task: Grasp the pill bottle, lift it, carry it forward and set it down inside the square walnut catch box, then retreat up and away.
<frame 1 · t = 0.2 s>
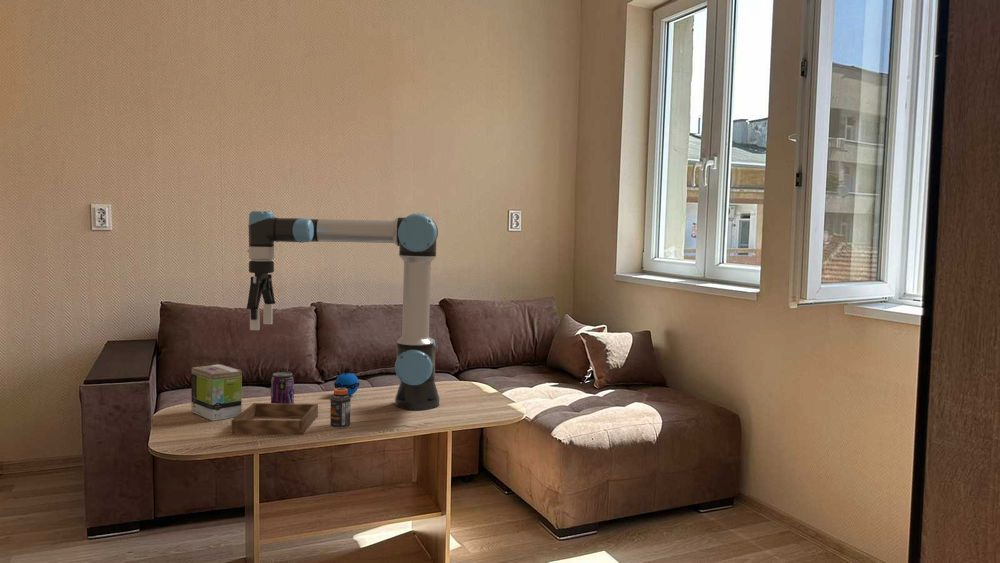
hand: (261, 327, 221), 28 cm above the table, fingers open, 13 cm apart
pill bottle: (340, 426, 211), on the table
ornament: (346, 396, 248), on the table
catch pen: (276, 424, 210), on the table
beverage can: (282, 410, 227), on the table
tea box: (216, 415, 220), on the table
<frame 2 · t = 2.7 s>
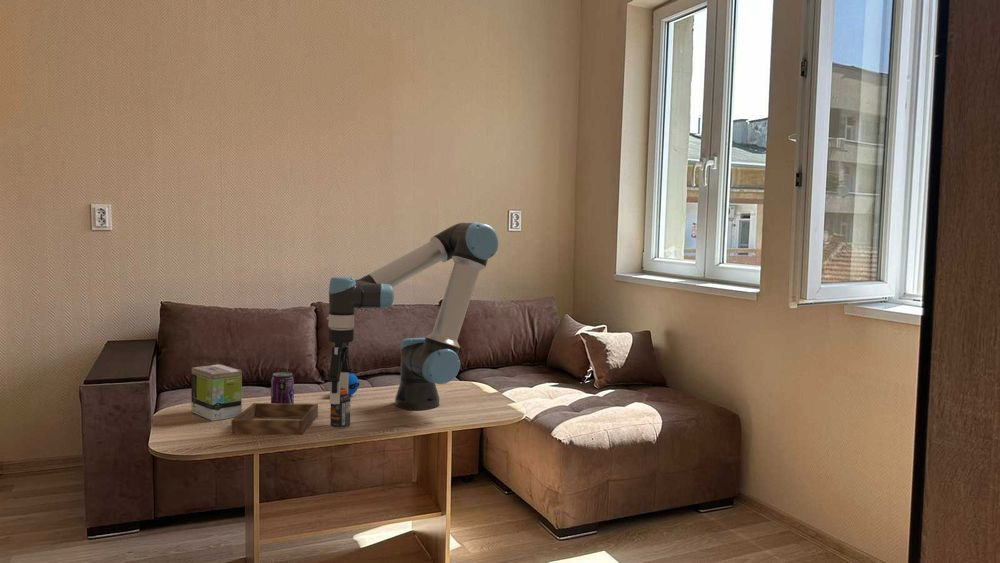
hand: (339, 398, 210), 8 cm above the table, fingers open, 13 cm apart
nothing on the table moved.
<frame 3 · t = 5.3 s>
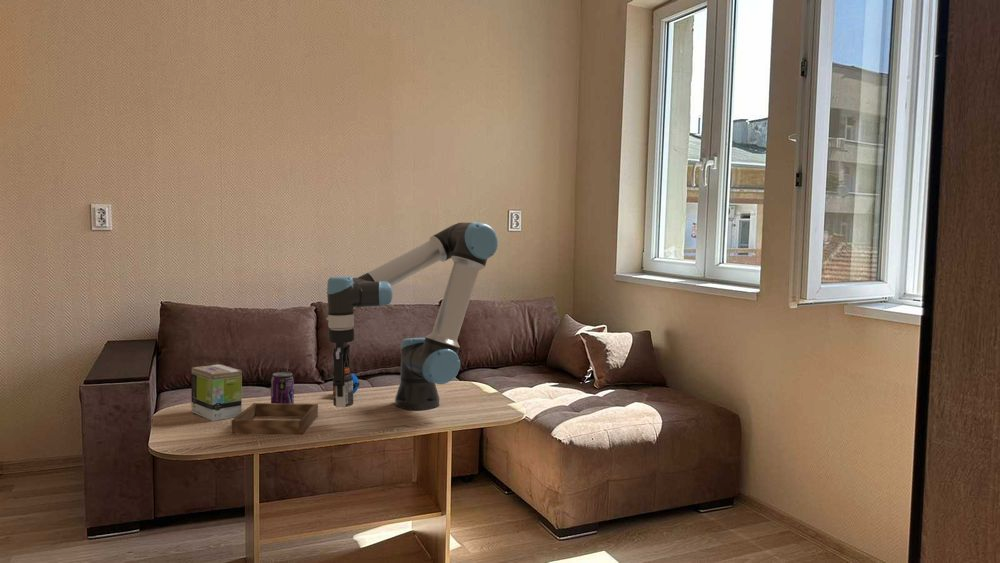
hand: (343, 403, 211), 7 cm above the table, fingers closed on pill bottle, 6 cm apart
pill bottle: (343, 405, 211), point 6 cm above the table, touching gripper
everything else where it was.
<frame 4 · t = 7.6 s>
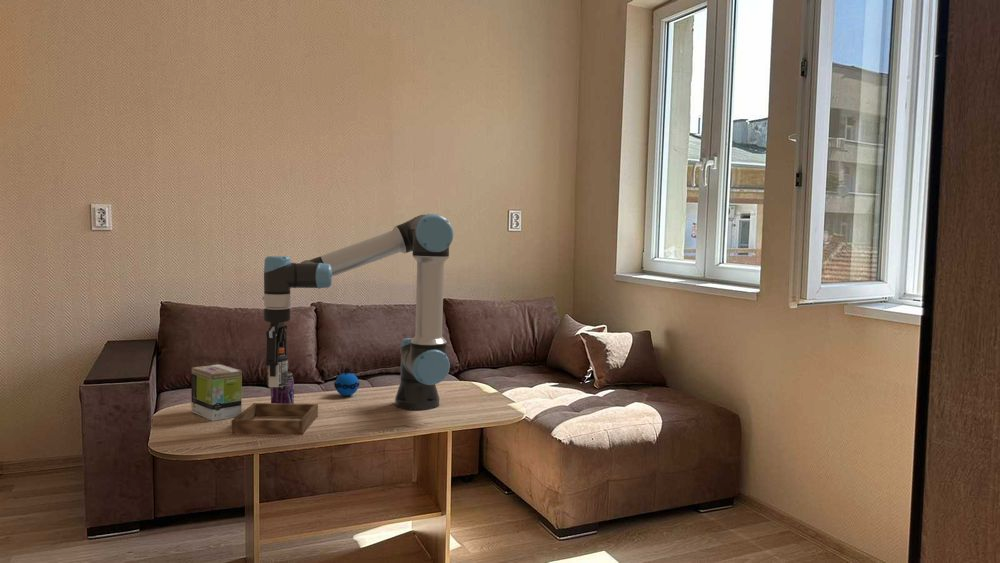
hand: (276, 384, 209), 12 cm above the table, fingers closed on pill bottle, 6 cm apart
pill bottle: (277, 385, 209), point 12 cm above the table, touching gripper
everything else where it was.
when the fingers open (2 cm above the table, at t = 10.1 s): pill bottle drops 1 cm, resting in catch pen.
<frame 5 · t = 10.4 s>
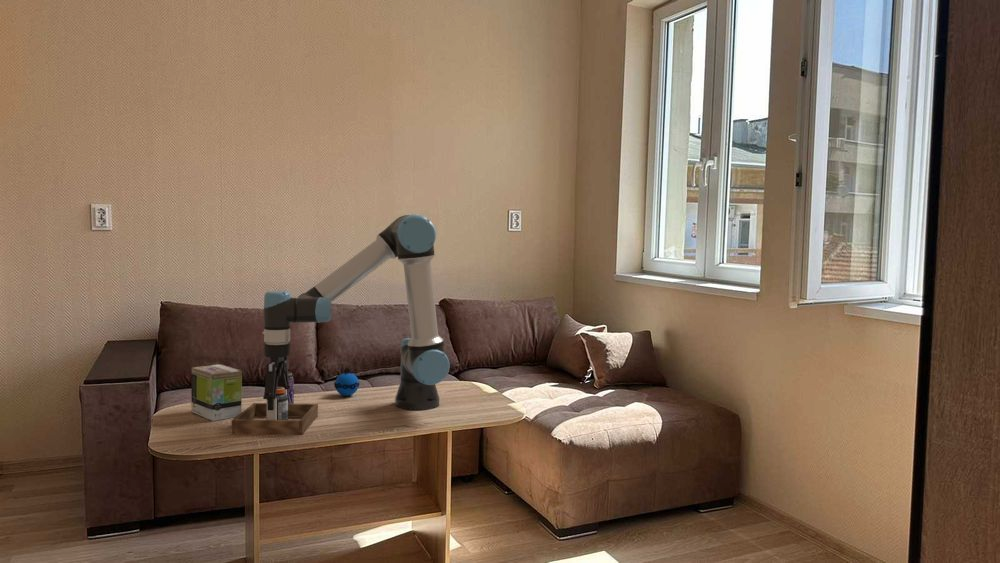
hand: (276, 415, 210), 3 cm above the table, fingers open, 10 cm apart
pill bottle: (277, 425, 210), resting in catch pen
everything else where it was.
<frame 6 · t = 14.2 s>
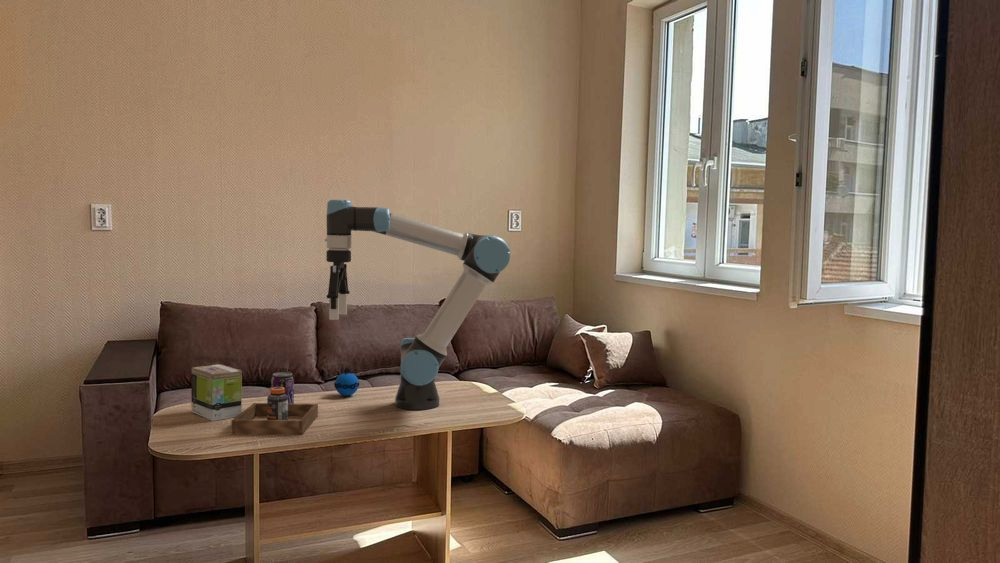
hand: (338, 317, 219), 32 cm above the table, fingers open, 13 cm apart
nothing on the table moved.
at the end: pill bottle inside the target area on the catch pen (0.2 cm from its centre), point 0.0 cm above the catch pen's base; the gripper is holding nothing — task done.
